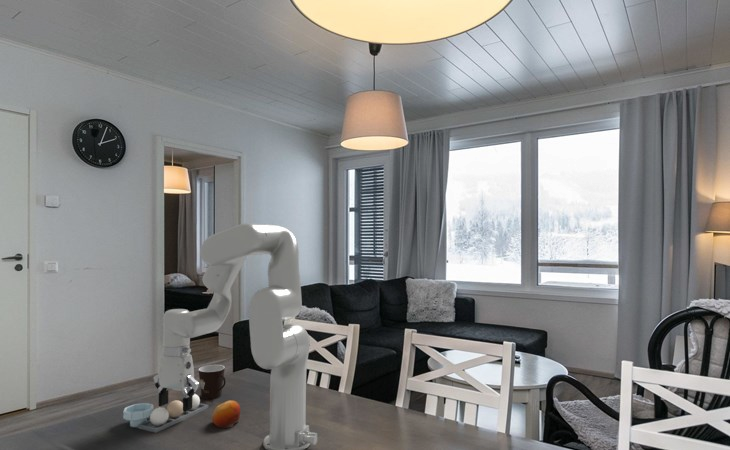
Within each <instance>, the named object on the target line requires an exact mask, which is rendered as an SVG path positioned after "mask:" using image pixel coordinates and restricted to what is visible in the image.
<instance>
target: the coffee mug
mask: <svg viewBox="0 0 730 450" xmlns="http://www.w3.org/2000/svg"><path fill="white" fill-rule="evenodd" d="M225 370H226V367H225V366H224V365H222V364H209V365H203V366H201V367H199V368H198V378H199V387H200V396H201V397H200V398H201V399H203V400H216V399H218V398H220V397H222V393H223V392H222V391H223V389H224V387H225V385H226V378H225Z"/></svg>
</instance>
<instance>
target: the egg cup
mask: <svg viewBox="0 0 730 450" xmlns="http://www.w3.org/2000/svg"><path fill="white" fill-rule="evenodd" d="M153 410H154V404H152V403H149V402H148V403H147V402H141V403H135V404H132V405H128V406H126V407H124V409H123V411H122V412H123V419H124V420H125V421H129V427H131V428H138V425H139V424H141V423H144V422H146V421H148V419H149V418H150V415H151V413H152V411H153Z"/></svg>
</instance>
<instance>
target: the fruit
mask: <svg viewBox="0 0 730 450" xmlns="http://www.w3.org/2000/svg"><path fill="white" fill-rule="evenodd" d="M240 417H241V406H240V404H239V403H238V402H237V401H235V400H226V401H224V402H223V403H220V404H219V405H217V406H216V407H215V408H214V411H213V413H212V418H211V419H212V420H211V421H212V423H213V424H214V425H215V426H216V427H217V428H222V429H225V428H232V427H233V426H234V425H235V424H237V423H239V421H240Z"/></svg>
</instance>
